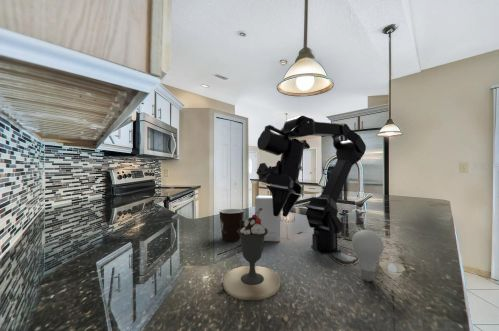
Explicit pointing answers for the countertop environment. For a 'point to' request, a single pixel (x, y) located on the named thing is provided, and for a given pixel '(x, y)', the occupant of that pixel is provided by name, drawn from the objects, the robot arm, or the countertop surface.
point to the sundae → (252, 246)
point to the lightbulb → (367, 252)
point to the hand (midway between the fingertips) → (280, 216)
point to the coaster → (251, 292)
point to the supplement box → (268, 217)
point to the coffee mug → (230, 224)
